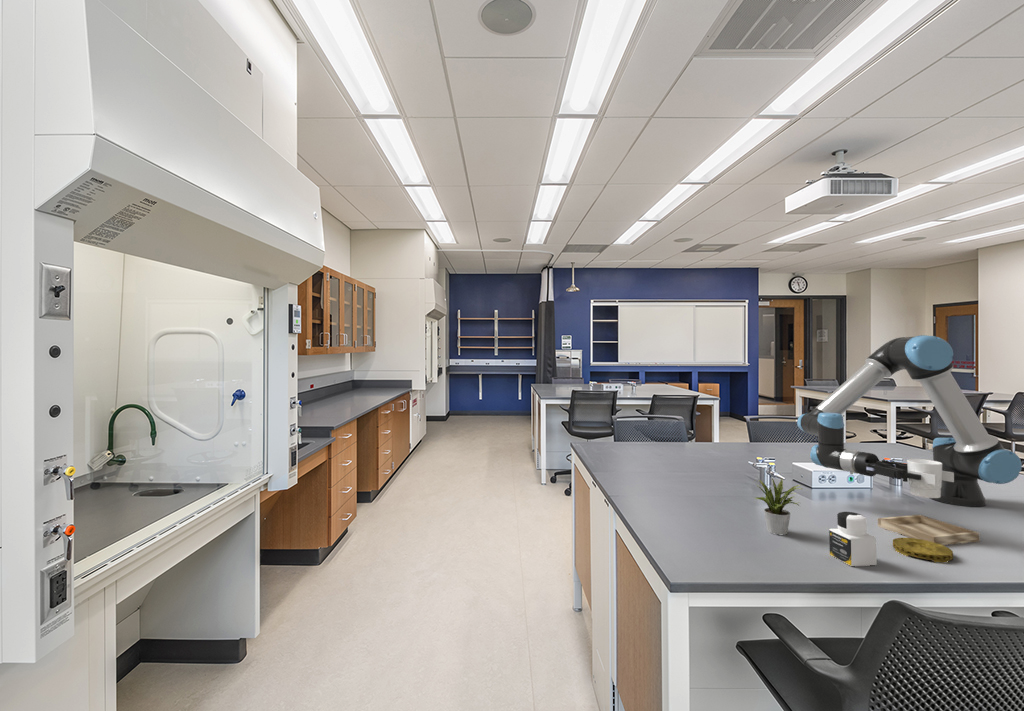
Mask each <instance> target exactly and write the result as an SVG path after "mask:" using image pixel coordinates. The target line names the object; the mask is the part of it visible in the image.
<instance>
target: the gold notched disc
mask: <svg viewBox="0 0 1024 711" xmlns="http://www.w3.org/2000/svg"><path fill="white" fill-rule="evenodd" d="M892 547H893V548H894V551H895V552H896V551H897V553H898V552H899V553H898V554H900V553H901V554H900V555H902V554H903V555H902V556H905V555H906V557H907V556H908V557H914V558H917V559H922V560H928V561H931V560H932V561H931V562H933V561H934V562H933V563H936V562H947V561H952V560H953V559H954V551H953V550H952V549H951V548H949V547H947V545H940V544H938V543H934V542H931V541H926V540H921V539H915V538H909V537H895V538H894V539H893V540H892ZM909 555H910V556H909Z"/></svg>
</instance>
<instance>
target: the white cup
mask: <svg viewBox="0 0 1024 711" xmlns="http://www.w3.org/2000/svg"><path fill="white" fill-rule="evenodd" d="M906 464H907V468H908V473H909V470H911V471H916V472H922V473H927V474H933V475H937V485H933V484H928V483H923V482H918V481H913V480H909V478H908V485H909V493H910V494H911V495H913V496H916V497H920V498H926V499H927V498H928V499H931V498H940V496H941V484H942V463H941V462H937V461H933V459H931V460H930V459H923V458H908V459H906Z"/></svg>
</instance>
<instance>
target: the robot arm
mask: <svg viewBox="0 0 1024 711" xmlns="http://www.w3.org/2000/svg"><path fill="white" fill-rule="evenodd" d="M953 357H954V350H953V348H952V346H951V344H949V343H948V341H947V340H945V339H943V338H942V337H939V336H935V335H925V334H923V335H922V334H921V335H915V336H905V337H904V336H903V337H895V338H893V339H891V340H889V341H887V342H885V343H884V344H882V346H880V347H879V348H877V349H876V350H875V351H874V352H873V353H871V354H870V355H869V356H868V357H867V358H866V359H865V360H864V363H865V364H863V366H861V367H860V368H859V369H858V370H856V372H854V373H853V374H852V375H851V376H850V377H848V379H847V380H845V381H844V382H843V383H842V384H841V385H839V387H838V388H836V389H835V390H834V391H833V392H832V393H831V394H829V395H828V397H826V398H825V399H824V400H823V401H822V402H820V403H819V404H817V406H816V407H815V408H813V409H812V410H811V411H810V412H807V413H803V414H800V415H799V417H798V418H797V422H796V424H797V427H798V428H799V429H800V430H801V431H802V432H803V433H806V434H807V435H813V436H817V437H818V438H817V440H818V441H817V442H818V444H814V445H813V446H812V447H811V449H810V453H809V457H810V460H811V461H812V463H813V464H814V465H817V466H821V467H824V468H825V469H826V468H828V469H833V470H838V471H841V472H842V471H843V472H849V474H850V475H853V474H859V475H862V476H865V477H874V476H876V475H878V476H883V477H888V478H892V479H896V480H902V482H905V483H907V482H908V483H909V480H913V481H918V482H923V483H928V484H933V485H937V475H933V474H927V473H922V472H916V471H911V470H909V473H908V468H907V462H899V461H895V460H891V461H889V460H886V459H885V460H884V459H882V460H880V459H879V457H878V456H877V455H876V454H875V453H871V452H865V451H860V450H855V449H848V448H845V443H844V442H845V440H844V438H845V423H844V416H843V414H844V413H845V412H846V411H848V410H849V408H851V407H852V406H853V405H854V404H856V403H857V402H858V401H859V400H860V399H862V397H864V395H866V394H867V393H868V392H870V391H871V390H872V389H873V388H874V387H875V386H876V385H878V383H880V382H881V381H882V380H883V379H885V378H890V377H892V375H894V374H896V373H898V372H900V371H901V370H905V371H906V372H907V373H908V376H909V377H910V379H911V380H912V381H915V382H919V383H920V384H921V387H922V389H924V392H925V393H926V394H927V397H928V398H929V400H930V402H931V403H932V404H933V405H932V406H934V408H935V410H936V411H937V413H938V414H939V416H940V418H941V419H942V421H943V422H944V425H945V426H946V428H947V429H948V432H949V433H950V435H951V436H952V437H934V439H933V440H932V441H933V442H932V448H931V449H932V457H933V459H932V461H937V462H941V463H942V484H941V496H940V498H930V500H933V501H937V502H940V503H943V504H950V505H957V506H962V507H963V506H964V507H983V506H985V505H986V498H985V496H984V493H983V492H982V488H981V486H980V484H979V482H978V480H980V481H983V482H986V483H989V484H992V483H993V484H995V485H997V484H998V485H1005V484H1008V483H1009V484H1010V483H1011V482H1013V481H1014V480H1016V479H1017V478H1018V477H1019V475H1020V472H1021V471H1022V469H1023V464H1022V460H1021V458H1020V457H1019V455H1017V453H1015V452H1013V451H1011V450H1009V449H1005V448H1004V446H1003V444H1002V443H1001V441H1000V440H999V438H998V437H997V436H994V435H992V434H989V433H988V431H987V429H986V428H985V426H984V425H983V423H982V422H981V420H980V419H979V417H978V415H977V413H976V412H975V410H974V408H973V407H972V405H971V403H970V402H969V400H968V398H967V397H966V395H965V393H964V392H963V390H962V388H960V386H959V384H958V383H957V380H956V379H955V377H954V376H953V374H952V370H953V369H954V364H953V363H952V362H953ZM908 478H909V479H908Z"/></svg>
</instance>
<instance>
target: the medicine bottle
mask: <svg viewBox="0 0 1024 711" xmlns="http://www.w3.org/2000/svg"><path fill="white" fill-rule="evenodd" d="M836 517H837V519H836V520H837V528H830V529H828V537H829V538H828V539H829V556H830V555H831V556H830V557H832V556H833V557H832V558H834V557H835V558H834V559H836V558H837V559H836V560H838V559H839V560H838V561H840V562H841V561H843V562H844V563H843V562H842V563H843V564H845V563H846V565H847V564H848V565H847V566H849V565H850V566H849V567H851V566H855V567H868V566H869V567H870V565H875V566H878V564H877V561H878V560H877V538H876V536H874V535H871V534H869V533H867V517H865V515H863V514H860V513H857V512H854V511H853V512H852V511H840V512H838V513H837V516H836Z"/></svg>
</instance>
